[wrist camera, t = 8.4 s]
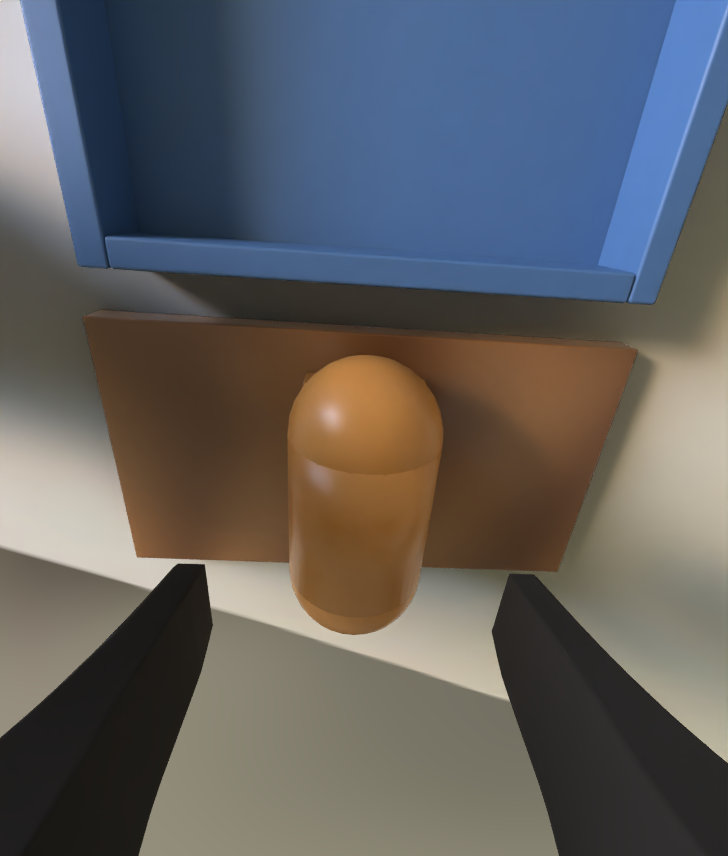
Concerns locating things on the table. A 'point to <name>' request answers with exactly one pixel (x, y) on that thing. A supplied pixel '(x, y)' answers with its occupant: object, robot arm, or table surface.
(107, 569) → the table surface
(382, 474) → the bread roll
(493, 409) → the bread board
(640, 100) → the bread tray
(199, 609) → the robot arm
